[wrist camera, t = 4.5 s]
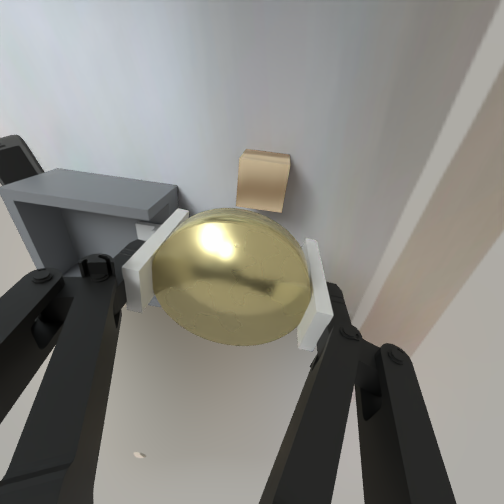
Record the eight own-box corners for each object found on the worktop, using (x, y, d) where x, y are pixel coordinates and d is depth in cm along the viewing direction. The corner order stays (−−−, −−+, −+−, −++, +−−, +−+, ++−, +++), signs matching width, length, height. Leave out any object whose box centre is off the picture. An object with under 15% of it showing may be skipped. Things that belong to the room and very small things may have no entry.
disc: (163, 190, 11) (146, 204, 10) (331, 229, 11) (337, 247, 10) (164, 308, 16) (153, 328, 14) (285, 335, 16) (285, 357, 14)
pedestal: (246, 148, 28) (239, 158, 23) (289, 154, 27) (290, 165, 23) (242, 191, 30) (235, 206, 26) (281, 196, 30) (281, 212, 26)
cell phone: (45, 237, 38) (41, 239, 38) (-22, 144, 31) (-29, 145, 31) (84, 231, 37) (80, 233, 36) (22, 132, 30) (16, 133, 29)
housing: (57, 168, 31) (-4, 187, 25) (177, 185, 31) (147, 210, 24) (86, 255, 39) (46, 288, 33) (182, 270, 39) (161, 307, 32)
